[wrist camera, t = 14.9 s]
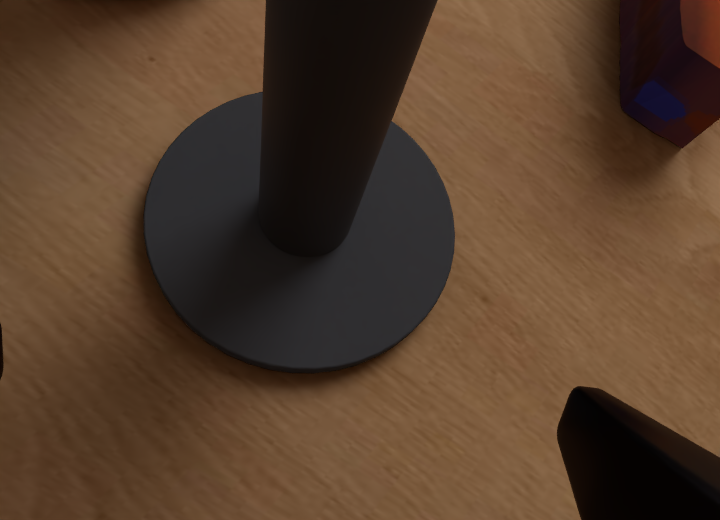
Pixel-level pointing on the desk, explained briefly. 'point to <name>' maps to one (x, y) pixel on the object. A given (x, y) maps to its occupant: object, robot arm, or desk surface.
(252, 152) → the felt pad
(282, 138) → the marker
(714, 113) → the toy rocket
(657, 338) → the desk surface
